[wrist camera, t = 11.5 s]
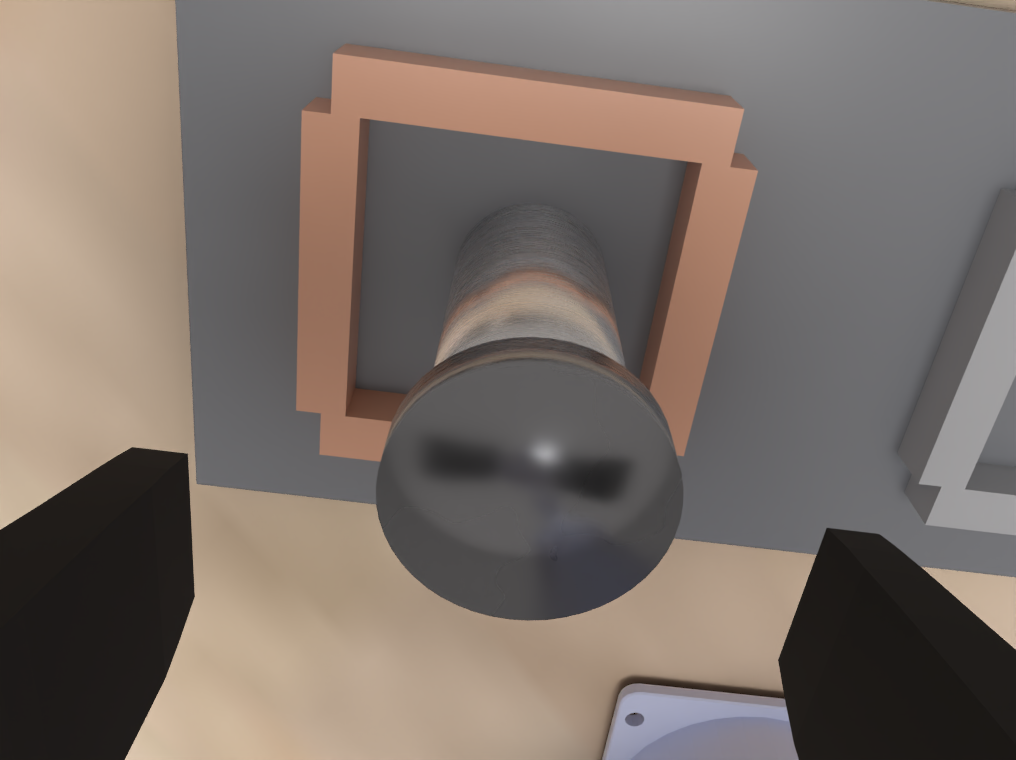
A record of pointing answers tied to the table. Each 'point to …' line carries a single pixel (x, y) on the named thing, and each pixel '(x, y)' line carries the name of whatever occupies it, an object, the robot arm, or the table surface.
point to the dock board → (625, 239)
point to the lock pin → (529, 435)
